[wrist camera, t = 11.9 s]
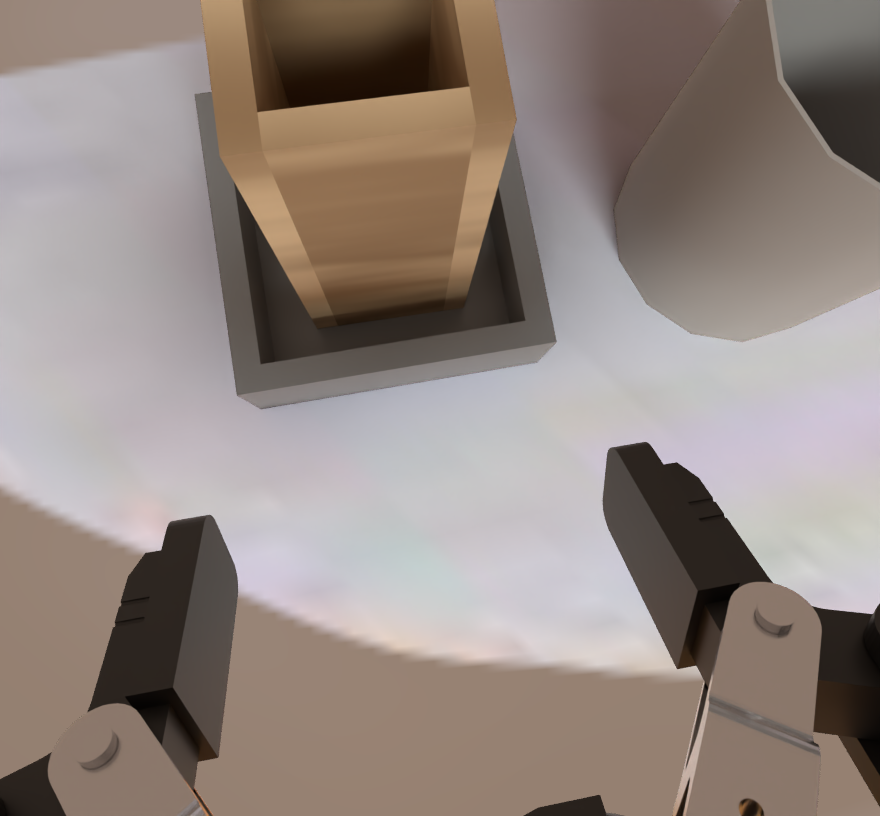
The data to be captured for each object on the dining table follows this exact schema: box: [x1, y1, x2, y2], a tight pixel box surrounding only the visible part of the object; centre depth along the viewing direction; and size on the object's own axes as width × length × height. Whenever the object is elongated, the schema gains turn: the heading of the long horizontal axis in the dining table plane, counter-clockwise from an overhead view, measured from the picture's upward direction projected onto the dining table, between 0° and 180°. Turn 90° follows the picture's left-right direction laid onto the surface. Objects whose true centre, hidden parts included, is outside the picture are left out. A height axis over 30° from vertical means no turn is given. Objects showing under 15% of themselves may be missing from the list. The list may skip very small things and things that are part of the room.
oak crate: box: [200, 0, 517, 329], centre depth 16 cm, size 5×5×11 cm
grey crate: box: [195, 92, 556, 409], centre depth 21 cm, size 10×10×3 cm
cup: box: [614, 0, 880, 342], centre depth 18 cm, size 8×8×10 cm
